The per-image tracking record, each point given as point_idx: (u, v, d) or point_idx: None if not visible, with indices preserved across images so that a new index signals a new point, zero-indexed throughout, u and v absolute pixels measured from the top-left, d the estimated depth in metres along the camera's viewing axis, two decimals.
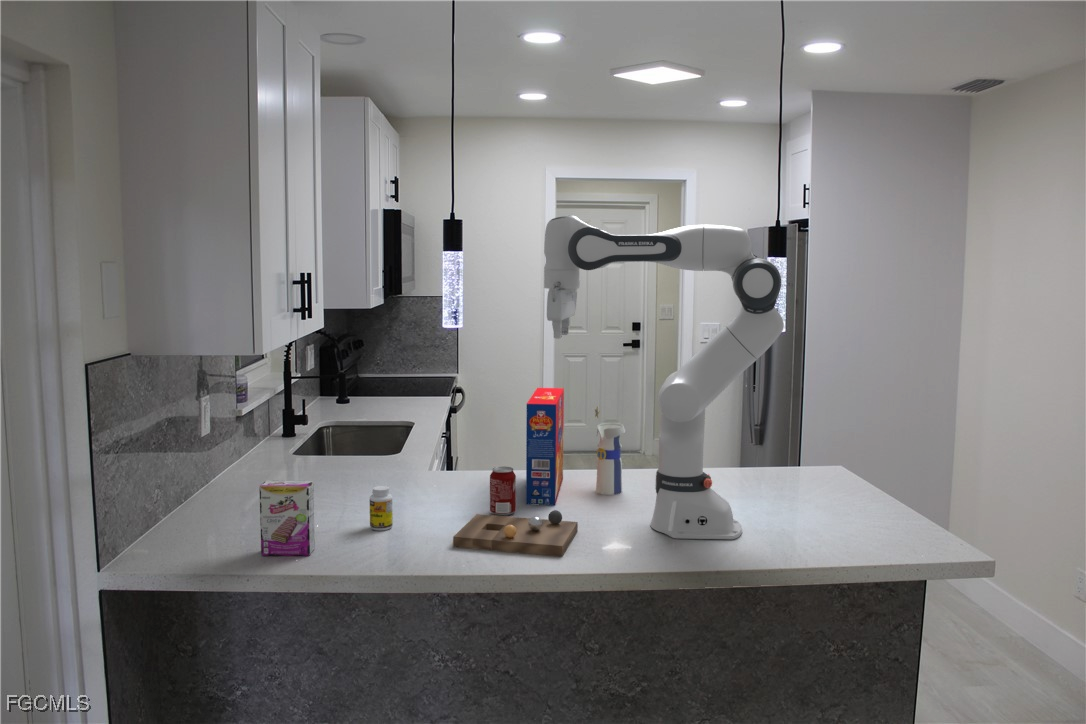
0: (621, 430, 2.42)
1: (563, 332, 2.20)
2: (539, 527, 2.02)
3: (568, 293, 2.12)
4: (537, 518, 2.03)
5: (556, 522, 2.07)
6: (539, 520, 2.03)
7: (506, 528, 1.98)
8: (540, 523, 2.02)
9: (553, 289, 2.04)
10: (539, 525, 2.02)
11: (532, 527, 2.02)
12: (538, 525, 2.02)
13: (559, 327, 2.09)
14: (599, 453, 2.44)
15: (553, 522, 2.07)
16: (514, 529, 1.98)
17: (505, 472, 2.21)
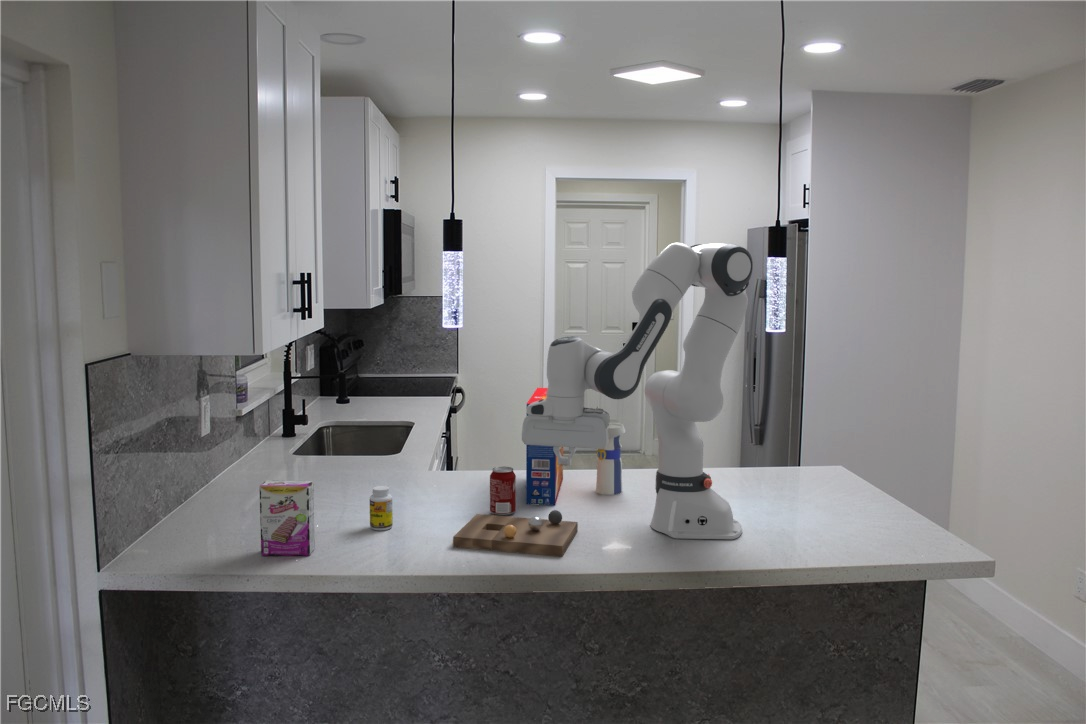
0: (621, 430, 2.42)
1: None
2: (539, 527, 2.02)
3: None
4: (537, 518, 2.03)
5: (556, 522, 2.07)
6: (539, 520, 2.03)
7: (506, 528, 1.98)
8: (540, 523, 2.02)
9: (608, 415, 1.96)
10: (539, 525, 2.02)
11: (532, 527, 2.02)
12: (538, 525, 2.02)
13: None
14: (599, 453, 2.44)
15: (553, 522, 2.07)
16: (514, 529, 1.98)
17: (505, 472, 2.21)
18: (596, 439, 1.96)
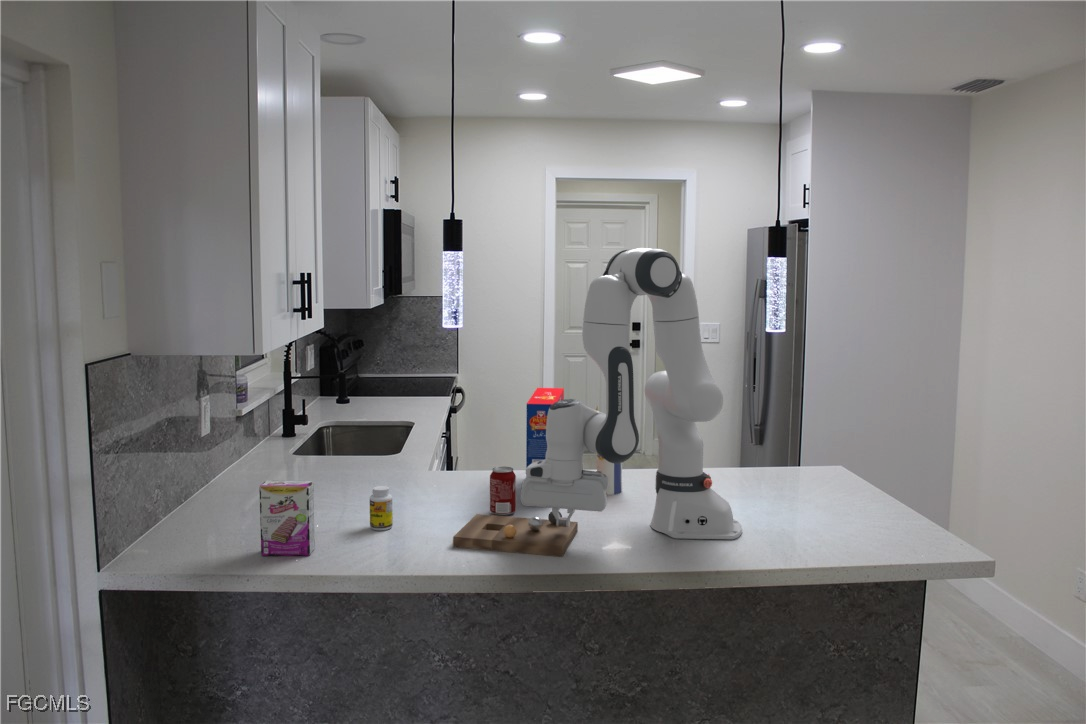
0: None
1: None
2: (539, 527, 2.02)
3: None
4: (537, 518, 2.03)
5: None
6: (539, 520, 2.03)
7: (506, 528, 1.98)
8: (540, 523, 2.02)
9: (607, 478, 1.98)
10: (539, 525, 2.02)
11: (532, 527, 2.02)
12: (538, 525, 2.02)
13: None
14: None
15: (553, 522, 2.07)
16: (514, 529, 1.98)
17: (505, 472, 2.21)
18: (595, 502, 1.97)
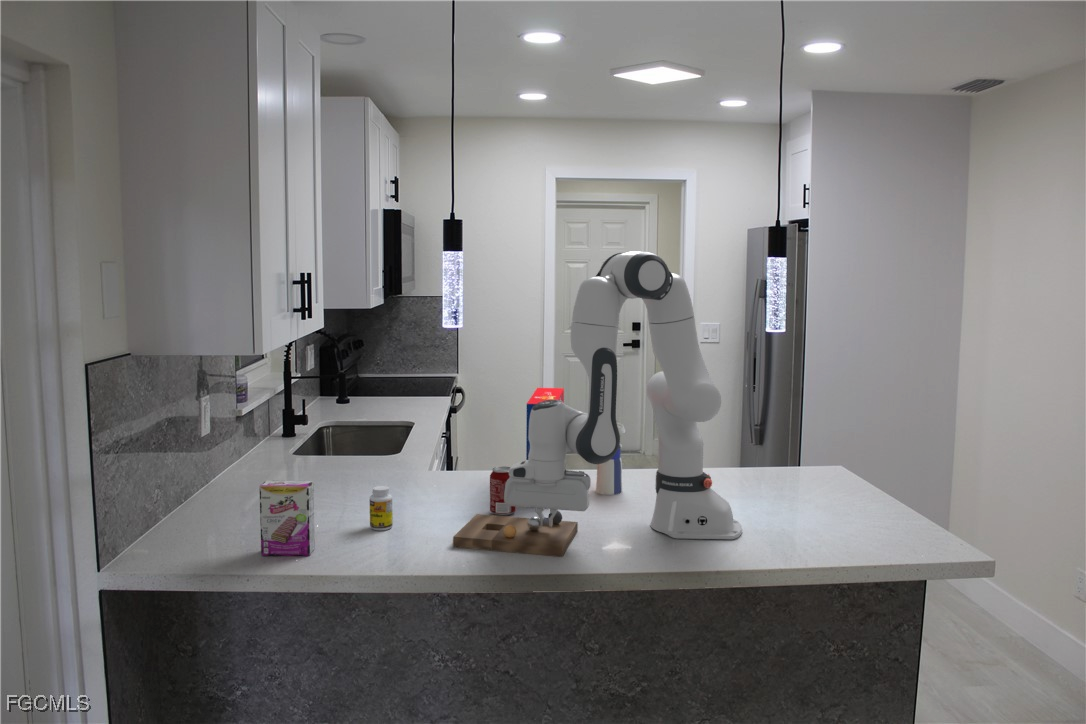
0: (621, 430, 2.42)
1: None
2: (538, 526, 2.02)
3: None
4: (535, 518, 2.03)
5: (556, 522, 2.07)
6: (537, 519, 2.03)
7: (506, 528, 1.98)
8: (539, 522, 2.02)
9: (589, 478, 1.99)
10: (538, 524, 2.02)
11: (531, 527, 2.02)
12: (537, 524, 2.02)
13: None
14: None
15: (553, 522, 2.07)
16: (514, 529, 1.98)
17: (505, 472, 2.21)
18: (577, 501, 1.98)
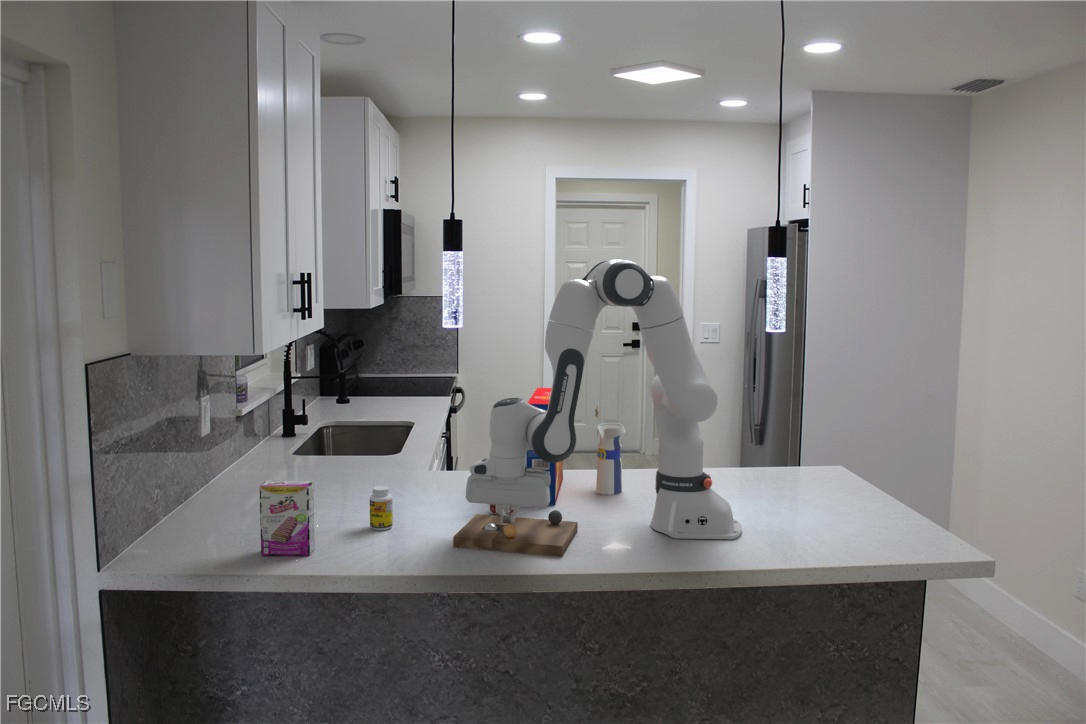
0: (621, 430, 2.42)
1: None
2: (493, 529, 2.05)
3: None
4: (486, 525, 2.06)
5: (556, 522, 2.07)
6: (488, 524, 2.06)
7: (506, 528, 1.98)
8: (491, 525, 2.05)
9: (549, 475, 2.01)
10: (492, 527, 2.05)
11: None
12: (491, 528, 2.05)
13: None
14: (599, 453, 2.44)
15: (553, 522, 2.07)
16: (514, 529, 1.98)
17: None
18: (537, 498, 2.01)
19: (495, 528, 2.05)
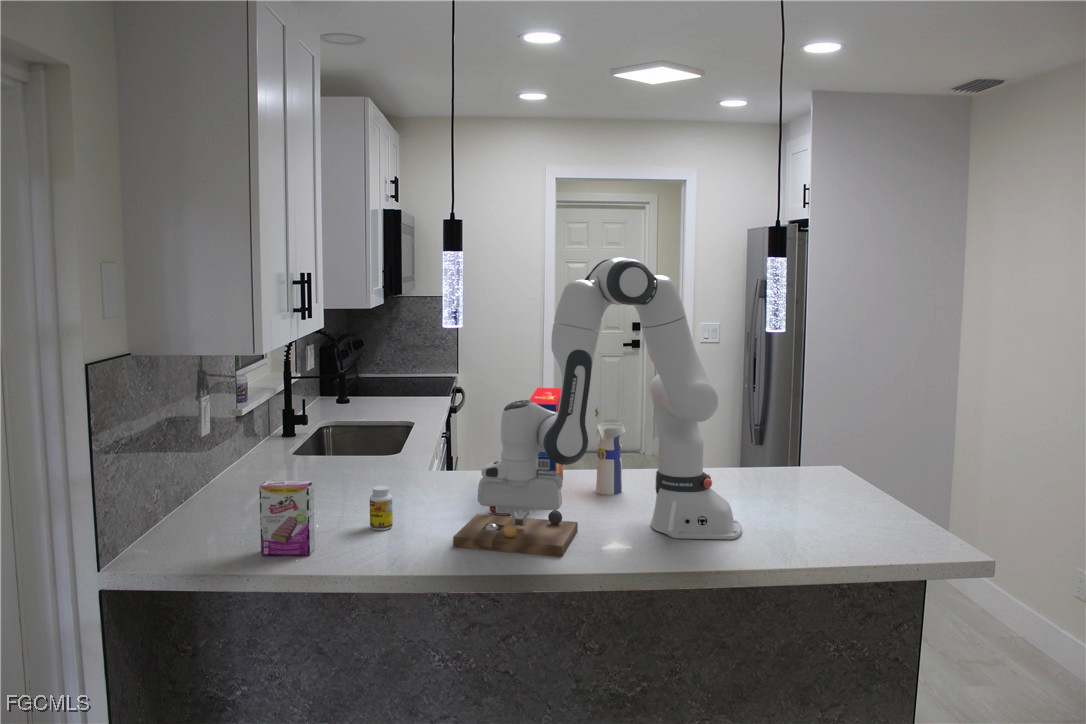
0: (621, 430, 2.42)
1: None
2: (495, 530, 2.05)
3: None
4: (488, 524, 2.06)
5: (556, 522, 2.07)
6: (491, 524, 2.05)
7: (506, 528, 1.98)
8: (493, 526, 2.05)
9: (561, 477, 2.01)
10: (494, 528, 2.05)
11: None
12: (493, 528, 2.05)
13: None
14: (599, 453, 2.44)
15: (553, 522, 2.07)
16: (514, 529, 1.98)
17: None
18: (549, 501, 2.00)
19: (497, 529, 2.05)
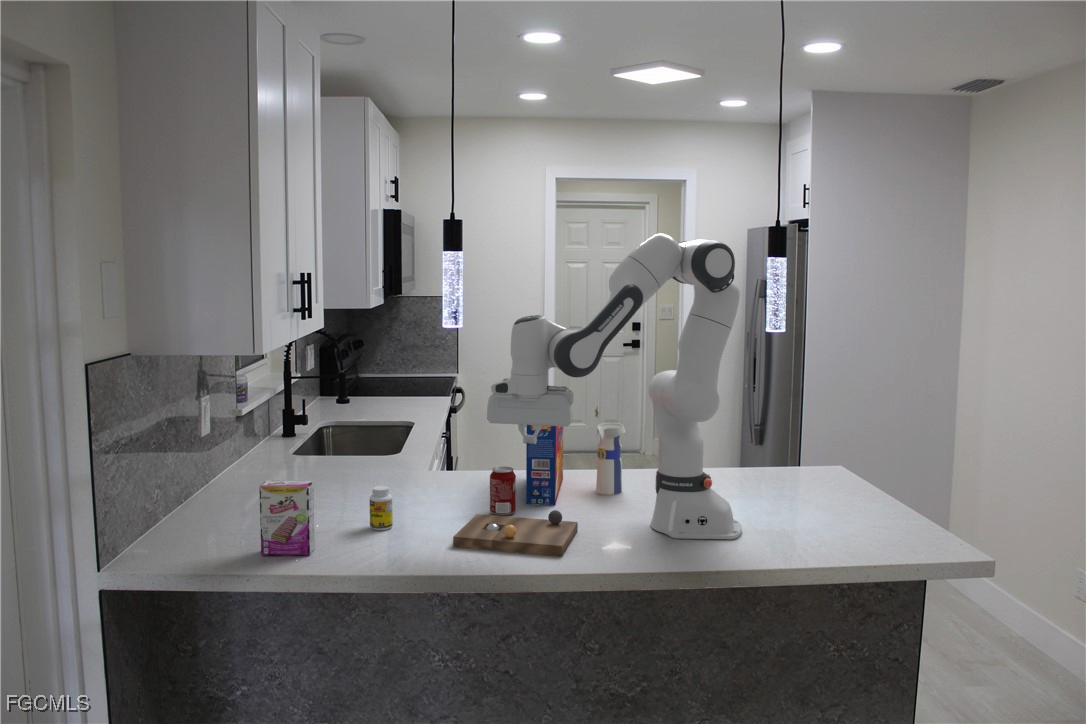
0: (621, 430, 2.42)
1: None
2: None
3: None
4: (490, 524, 2.06)
5: (556, 522, 2.07)
6: (493, 525, 2.05)
7: (506, 528, 1.98)
8: (495, 527, 2.05)
9: (572, 393, 1.98)
10: (495, 529, 2.05)
11: None
12: (494, 529, 2.05)
13: None
14: (599, 453, 2.44)
15: (553, 522, 2.07)
16: (514, 529, 1.98)
17: (505, 472, 2.21)
18: (560, 416, 1.97)
19: (498, 530, 2.05)
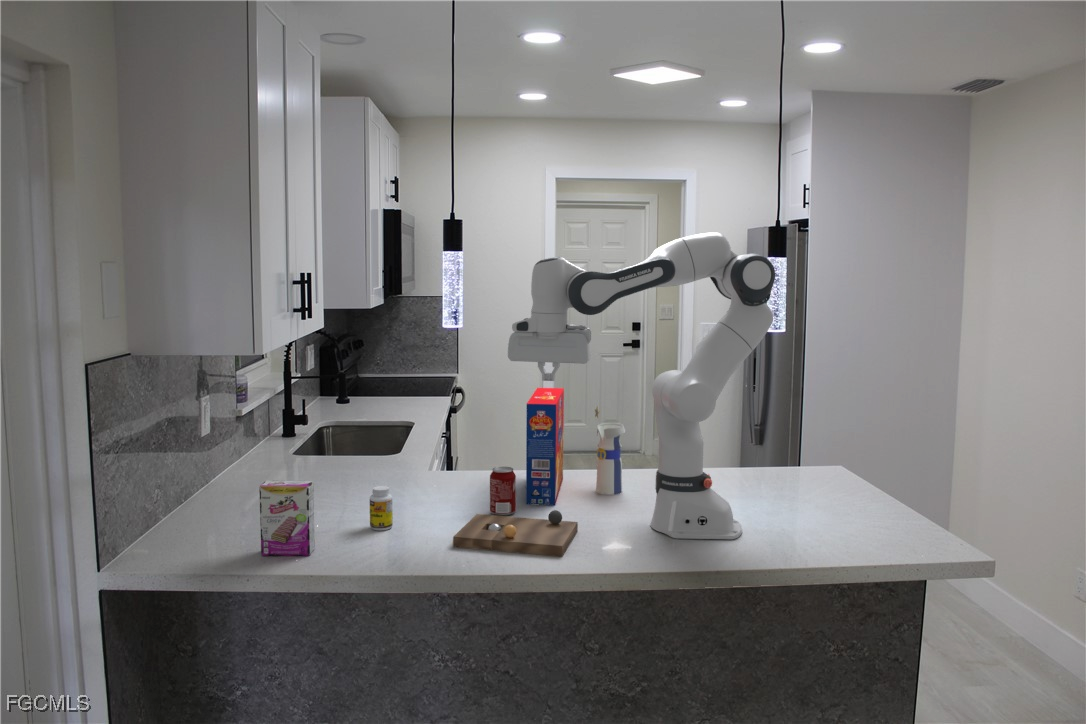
0: (621, 430, 2.42)
1: None
2: None
3: None
4: (494, 524, 2.05)
5: (556, 522, 2.07)
6: (496, 526, 2.05)
7: (506, 528, 1.98)
8: (498, 528, 2.05)
9: (590, 332, 2.06)
10: (498, 530, 2.05)
11: None
12: (497, 530, 2.05)
13: (557, 369, 2.10)
14: (599, 453, 2.44)
15: (553, 522, 2.07)
16: (514, 529, 1.98)
17: (505, 472, 2.21)
18: (578, 354, 2.05)
19: None
